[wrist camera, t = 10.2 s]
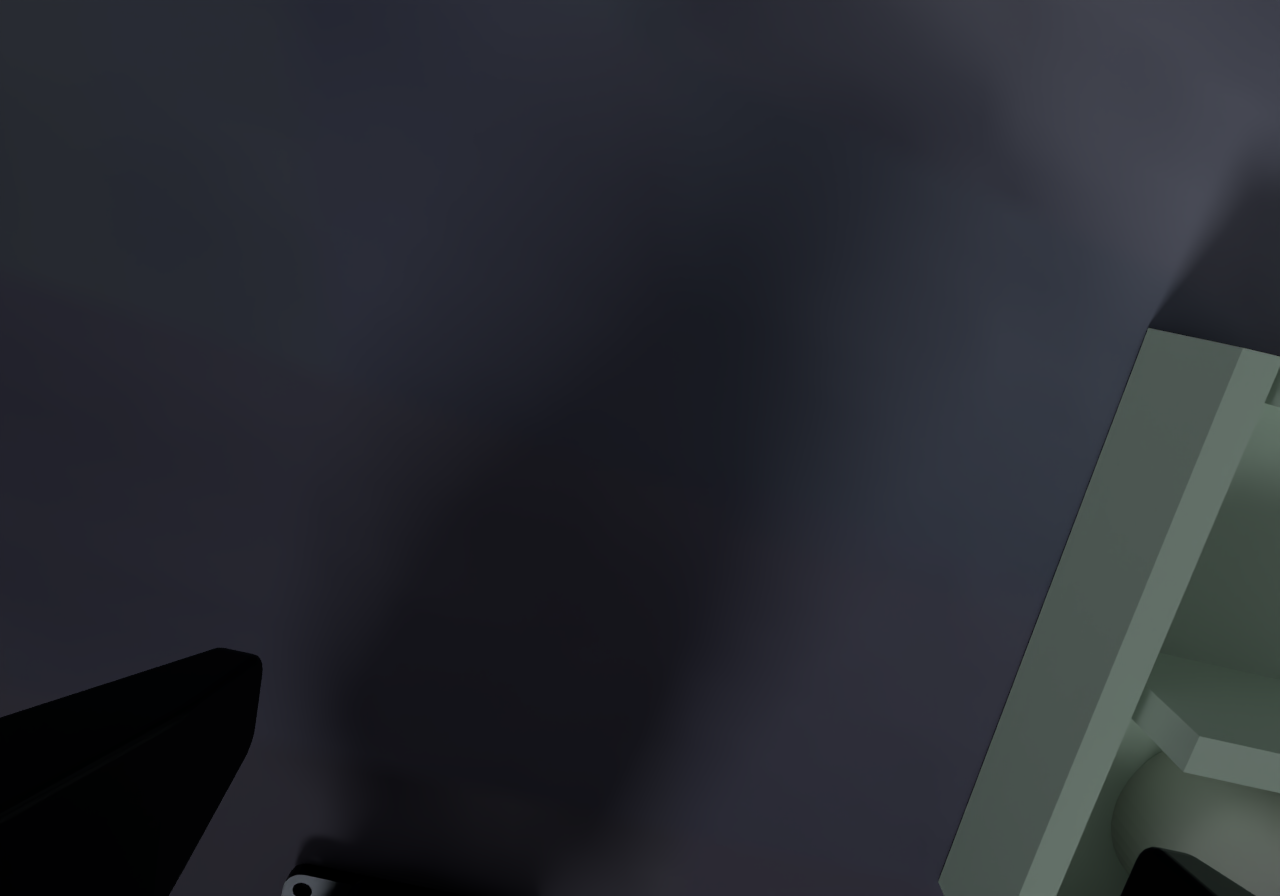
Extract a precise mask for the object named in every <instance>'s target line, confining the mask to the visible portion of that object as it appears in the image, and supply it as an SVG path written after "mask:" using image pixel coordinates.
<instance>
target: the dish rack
mask: <svg viewBox="0 0 1280 896" xmlns="http://www.w3.org/2000/svg"><path fill="white" fill-rule="evenodd" d="M1162 751H1163V752H1164V753H1165V754H1166V755H1167V756H1168V757H1169V758H1170V759H1171V760H1172V761H1173V762H1174V763H1175V764H1176V765H1177V766H1178V767H1179V768H1180V769H1181V770H1182V771H1183V772H1185V773H1190V774H1194V775H1199V776H1203V777H1208V778H1213V779H1217V780H1222V781H1226V782H1231V783H1236V784H1240V785H1245V786H1249V787H1254V788H1259V789H1263V790H1268V791H1272V792H1277V793H1280V357H1279V356H1275V355H1271V354H1267V353H1263V352H1259V351H1254V350H1250V349H1246V348H1242V347H1237V346H1232V345H1228V344H1223V343H1218V342H1213V341H1209V340H1204V339H1199V338H1194V337H1189V336H1185V335H1180V334H1175V333H1170V332H1166V331H1161V330H1156V329H1151V328H1148V330H1147V333H1146V335H1145V338H1144V341H1143V343H1142V346H1141V348H1140V351H1139V354H1138V356H1137V359H1136V362H1135V364H1134V367H1133V370H1132V372H1131V375H1130V377H1129V380H1128V383H1127V385H1126V388H1125V391H1124V393H1123V396H1122V399H1121V401H1120V404H1119V406H1118V409H1117V412H1116V414H1115V417H1114V420H1113V422H1112V425H1111V428H1110V430H1109V433H1108V435H1107V438H1106V441H1105V443H1104V446H1103V449H1102V451H1101V454H1100V456H1099V459H1098V462H1097V464H1096V467H1095V470H1094V472H1093V475H1092V478H1091V480H1090V483H1089V485H1088V488H1087V491H1086V493H1085V496H1084V499H1083V501H1082V504H1081V507H1080V509H1079V512H1078V514H1077V517H1076V520H1075V522H1074V525H1073V528H1072V530H1071V533H1070V536H1069V538H1068V541H1067V543H1066V546H1065V549H1064V551H1063V554H1062V557H1061V559H1060V562H1059V565H1058V567H1057V570H1056V572H1055V575H1054V578H1053V580H1052V583H1051V586H1050V588H1049V591H1048V594H1047V596H1046V599H1045V601H1044V604H1043V607H1042V609H1041V612H1040V615H1039V617H1038V620H1037V623H1036V625H1035V628H1034V630H1033V633H1032V636H1031V638H1030V641H1029V644H1028V646H1027V649H1026V652H1025V654H1024V657H1023V659H1022V662H1021V665H1020V667H1019V670H1018V673H1017V675H1016V678H1015V681H1014V683H1013V686H1012V688H1011V691H1010V694H1009V696H1008V699H1007V702H1006V704H1005V707H1004V709H1003V712H1002V715H1001V717H1000V720H999V723H998V725H997V728H996V731H995V733H994V736H993V738H992V741H991V744H990V746H989V749H988V752H987V754H986V757H985V760H984V762H983V765H982V767H981V770H980V773H979V775H978V778H977V781H976V783H975V786H974V789H973V791H972V794H971V796H970V799H969V802H968V804H967V807H966V810H965V812H964V815H963V818H962V820H961V823H960V825H959V828H958V831H957V833H956V836H955V839H954V841H953V844H952V847H951V849H950V852H949V854H948V857H947V860H946V862H945V865H944V868H943V870H942V873H941V876H940V878H939V881H938V882H939V885H940V887H941V889H942V892H943V894H944V896H1120V895H1121V893H1122V891H1123V888H1124V886H1125V884H1126V882H1127V879H1128V877H1129V875H1128V873H1127V872H1126V870H1125V869H1124V868H1123V866H1122V865H1121V863H1120V861H1119V859H1118V857H1117V855H1116V853H1115V850H1114V847H1113V842H1112V836H1111V822H1112V817H1113V811H1114V808H1115V805H1116V802H1117V800H1118V798H1119V796H1120V793H1121V791H1122V790H1123V788H1124V787H1125V785H1126V784H1127V782H1128V780H1129V779H1130V778H1131V777H1132V776H1133V775H1134V773H1135V772H1136V771H1137V770H1138V769H1139V768H1140V767H1141V766H1142V765H1143V764H1145V763H1146V762H1147V761H1148V760H1150V759H1151V758H1152V757H1154V756H1155V755H1156V754H1158V753H1160V752H1162Z"/></svg>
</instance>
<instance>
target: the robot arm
mask: <svg viewBox="0 0 1280 896" xmlns="http://www.w3.org/2000/svg"><path fill="white" fill-rule="evenodd" d="M262 670H263V669H262V662H261V660H260V658H259V657H258V656H256V655H254V654H250V653H245V652H241V651H236V650H231V649H227V648H215V649H212V650H209V651H206V652H203V653H199V654H196V655H193V656H190V657H187V658H184V659H181V660H178V661H175V662H172V663H168V664H165V665H162V666H159V667H156V668H153V669H150V670H147V671H144V672H140V673H137V674H134V675H131V676H128V677H125V678H122V679H119V680H116V681H113V682H109V683H106V684H103V685H100V686H97V687H94V688H91V689H88V690H85V691H81V692H78V693H75V694H72V695H69V696H66V697H63V698H60V699H57V700H54V701H50V702H47V703H44V704H41V705H38V706H35V707H32V708H29V709H26V710H22V711H19V712H16V713H13V714H10V715H7V716H4V717H1V718H0V896H169V894H170V892H171V891H172V889H173V887H174V885H175V884H176V882H177V880H178V879H179V877H180V875H181V873H182V872H183V870H184V868H185V866H186V864H187V862H188V861H189V859H190V857H191V855H192V853H193V852H194V850H195V848H196V846H197V844H198V842H199V841H200V839H201V837H202V835H203V833H204V832H205V830H206V828H207V826H208V824H209V822H210V821H211V819H212V817H213V815H214V813H215V811H216V810H217V808H218V806H219V804H220V802H221V801H222V799H223V797H224V795H225V793H226V791H227V790H228V788H229V786H230V784H231V782H232V781H233V779H234V777H235V775H236V773H237V771H238V770H239V768H240V766H241V764H242V762H243V761H244V759H245V757H246V755H247V753H248V750H249V748H250V745H251V742H252V739H253V735H254V731H255V724H256V717H257V709H258V702H259V694H260V687H261V680H262ZM300 883H305V884H307V885H309V886H310V887H311V888H306V887H304V886H302V885H301V884H300ZM282 896H464V895H459V894H454V893H450V892H445V891H440V890H435V889H430V888H425V887H420V886H415V885H410V884H405V883H401V882H396V881H391V880H386V879H381V878H376V877H371V876H366V875H361V874H356V873H352V872H347V871H342V870H337V869H332V868H327V867H322V866H317V865H312V864H301V865H298V866H296V867H295V868H294V869H293V870H292V871H291V873H290V874H289V876H288V878H287V880H286V881H285V884H284V886H283V892H282ZM1120 896H1255V895H1254V894H1252V893H1251V892H1249V891H1248V890H1246V889H1245V888H1243V887H1241V886H1240V885H1238V884H1237V883H1235V882H1234V881H1232V880H1230V879H1229V878H1227V877H1226V876H1224V875H1223V874H1221V873H1220V872H1218V871H1216V870H1215V869H1213V868H1212V867H1210V866H1209V865H1207V864H1206V863H1204V862H1202V861H1201V860H1199V859H1198V858H1196V857H1194V856H1192V855H1190V854H1187V853H1184V852H1179V851H1175V850H1170V849H1165V848H1160V847H1149V848H1146V849H1144V850H1143V851H1142V852H1141V853H1140V854H1139V855H1138V857H1137V859H1136V861H1135V864H1134V866H1133V868H1132V870H1131V873H1130V875H1129V877H1128V879H1127V882H1126V884H1125V886H1124V888H1123V891H1122V893H1121V895H1120Z"/></svg>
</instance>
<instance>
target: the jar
mask: <svg viewBox="0 0 1280 896" xmlns="http://www.w3.org/2000/svg"><path fill="white" fill-rule="evenodd" d="M1111 836H1112V842H1113V847H1114V850H1115V853H1116V855H1117V857H1118V859H1119V861H1120V863H1121V865H1122V866H1123V868H1124V869H1125V870H1126V872H1127V873H1128V875H1130V873H1131V870H1132V868H1133V866H1134V864H1135V861H1136V859H1137V857H1138V855H1139V854H1140V853H1141V852H1142V851H1143V850H1144V849H1146V848H1149V847H1160V848H1165V849H1170V850H1175V851H1179V852H1184V853H1187V854H1190V855H1192V856H1194V857H1196V858H1198V859H1199V860H1201V861H1202V862H1204V863H1206V864H1207V865H1209V866H1210V867H1212V868H1213V869H1215V870H1216V871H1218V872H1220V873H1221V874H1223V875H1224V876H1226V877H1227V878H1229V879H1230V880H1232V881H1234V882H1235V883H1237V884H1238V885H1240V886H1241V887H1243V888H1245V889H1246V890H1248V891H1249V892H1251V893H1252V894H1254V895H1255V896H1280V793H1277V792H1272V791H1268V790H1263V789H1259V788H1254V787H1249V786H1245V785H1240V784H1236V783H1231V782H1226V781H1222V780H1217V779H1213V778H1208V777H1203V776H1199V775H1194V774H1190V773H1185V772H1183V771H1182V770H1181V769H1180V768H1179V767H1178V766H1177V765H1176V764H1175V763H1174V762H1173V761H1172V760H1171V759H1170V758H1169V757H1168V756H1167V755H1166V754H1165V753H1164V752H1163V751H1162V752H1160V753H1158V754H1156V755H1155V756H1154V757H1152V758H1151V759H1150V760H1148V761H1147V762H1146V763H1145V764H1143V765H1142V766H1141V767H1140V768H1139V769H1138V770H1137V771H1136V772H1135V773H1134V775H1133V776H1132V777H1131V778H1130V779H1129V780H1128V782H1127V784H1126V785H1125V787H1124V788H1123V790H1122V791H1121V793H1120V796H1119V798H1118V800H1117V802H1116V805H1115V808H1114V811H1113V817H1112V822H1111Z"/></svg>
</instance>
